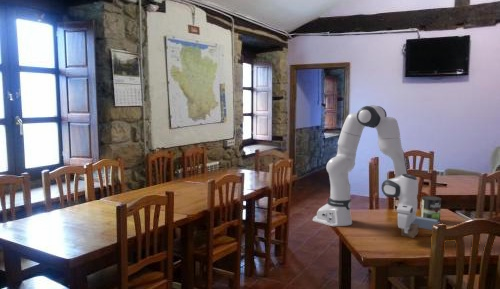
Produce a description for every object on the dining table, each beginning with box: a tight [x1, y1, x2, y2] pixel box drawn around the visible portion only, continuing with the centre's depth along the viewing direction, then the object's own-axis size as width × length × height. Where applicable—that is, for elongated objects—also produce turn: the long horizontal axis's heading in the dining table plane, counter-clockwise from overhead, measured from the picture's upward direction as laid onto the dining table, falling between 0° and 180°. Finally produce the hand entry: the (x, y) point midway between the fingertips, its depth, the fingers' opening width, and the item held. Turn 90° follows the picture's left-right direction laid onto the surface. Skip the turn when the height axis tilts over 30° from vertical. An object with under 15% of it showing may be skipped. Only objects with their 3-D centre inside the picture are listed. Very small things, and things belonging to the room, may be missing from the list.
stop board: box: [412, 215, 438, 231], centre depth 222 cm, size 20×4×5 cm, turn 54°
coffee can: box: [420, 195, 442, 224], centre depth 231 cm, size 10×10×14 cm
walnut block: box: [400, 223, 419, 239], centre depth 209 cm, size 6×10×4 cm, turn 144°
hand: (406, 232), depth 204 cm, fingers closed
